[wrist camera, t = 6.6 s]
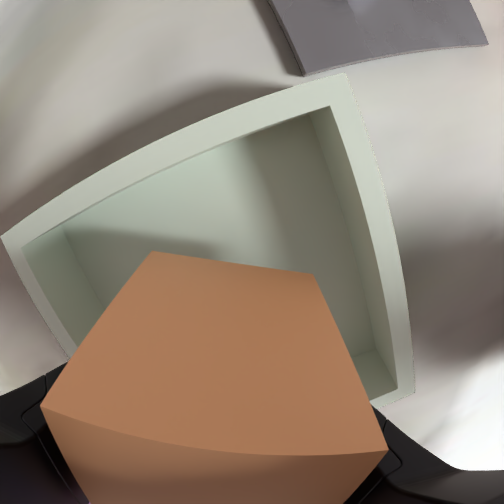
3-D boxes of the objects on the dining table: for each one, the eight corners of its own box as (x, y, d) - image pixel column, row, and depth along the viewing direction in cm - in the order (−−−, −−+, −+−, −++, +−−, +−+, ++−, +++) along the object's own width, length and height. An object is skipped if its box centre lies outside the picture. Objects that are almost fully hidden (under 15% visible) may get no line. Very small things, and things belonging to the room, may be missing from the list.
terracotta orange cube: (312, 274, 10) (388, 449, 4) (280, 390, 11) (298, 545, 5) (152, 250, 9) (39, 405, 3) (150, 372, 11) (103, 521, 5)
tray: (388, 346, 15) (415, 392, 11) (170, 412, 16) (159, 460, 13) (317, 91, 11) (345, 72, 7) (48, 213, 12) (0, 236, 9)
